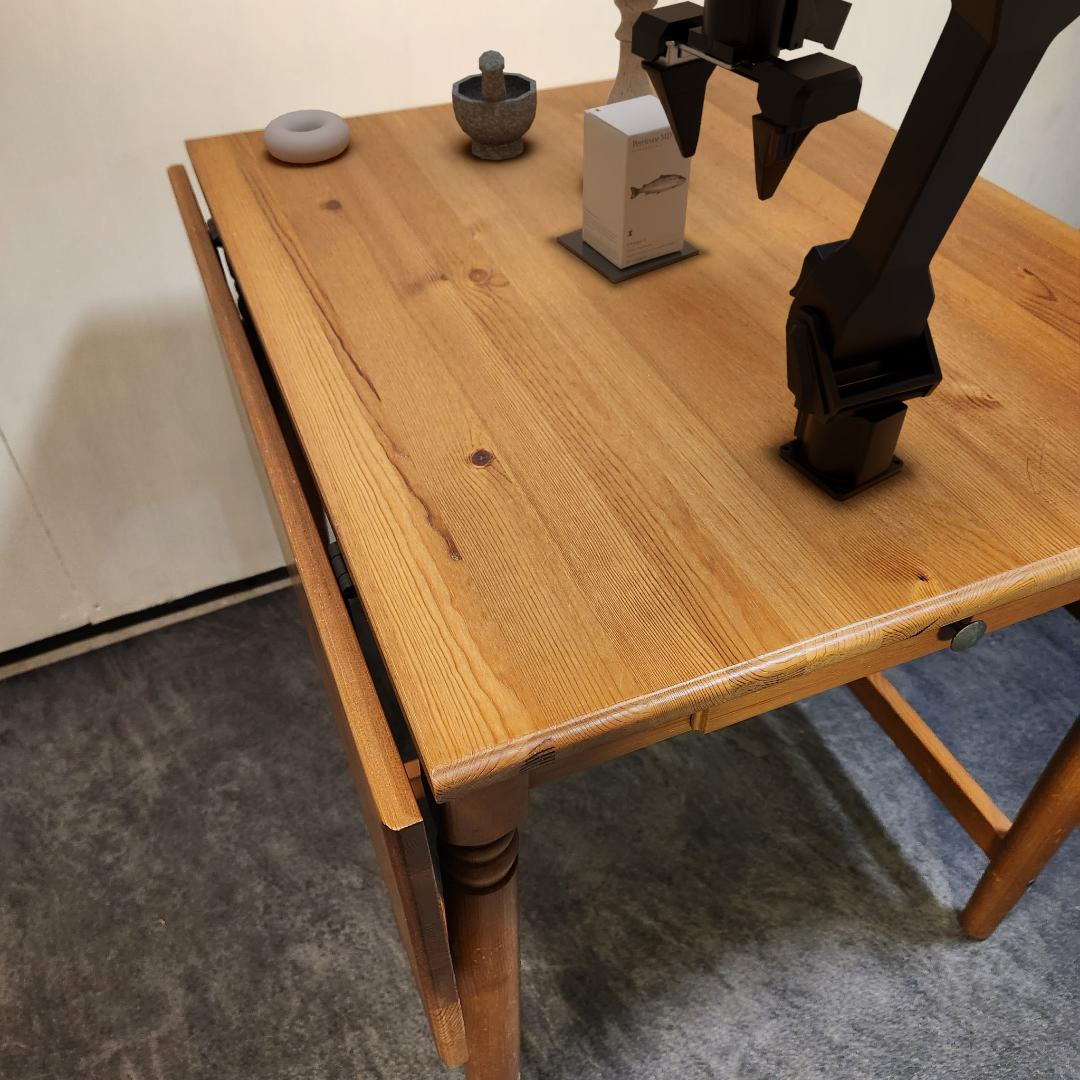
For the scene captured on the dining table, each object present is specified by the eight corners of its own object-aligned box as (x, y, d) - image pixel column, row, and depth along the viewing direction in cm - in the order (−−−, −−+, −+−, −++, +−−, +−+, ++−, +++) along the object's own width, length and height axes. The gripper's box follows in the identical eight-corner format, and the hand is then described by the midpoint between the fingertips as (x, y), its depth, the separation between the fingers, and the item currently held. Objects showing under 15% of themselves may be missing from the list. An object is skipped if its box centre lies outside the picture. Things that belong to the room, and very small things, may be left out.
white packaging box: (620, 272, 88) (626, 135, 79) (580, 239, 93) (581, 107, 84) (685, 251, 91) (697, 117, 82) (643, 221, 95) (650, 90, 86)
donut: (291, 131, 115) (250, 163, 108) (285, 102, 113) (243, 132, 106) (366, 139, 113) (329, 172, 106) (362, 109, 111) (324, 141, 104)
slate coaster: (698, 253, 91) (699, 249, 91) (614, 283, 88) (614, 279, 87) (637, 214, 97) (638, 210, 97) (556, 241, 94) (556, 237, 93)
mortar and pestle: (458, 133, 113) (449, 24, 105) (536, 130, 113) (534, 21, 105) (455, 173, 105) (445, 59, 97) (539, 170, 105) (536, 55, 97)
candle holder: (601, 209, 98) (607, -8, 84) (576, 174, 104) (578, -34, 90) (680, 197, 100) (699, -18, 85) (651, 164, 106) (664, -43, 91)
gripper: (948, -44, 60) (889, 194, 71) (751, -97, 71) (727, 115, 82) (817, -13, 56) (777, 235, 67) (631, -74, 67) (623, 146, 78)
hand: (725, 176), depth 73 cm, fingers open, 9 cm apart
